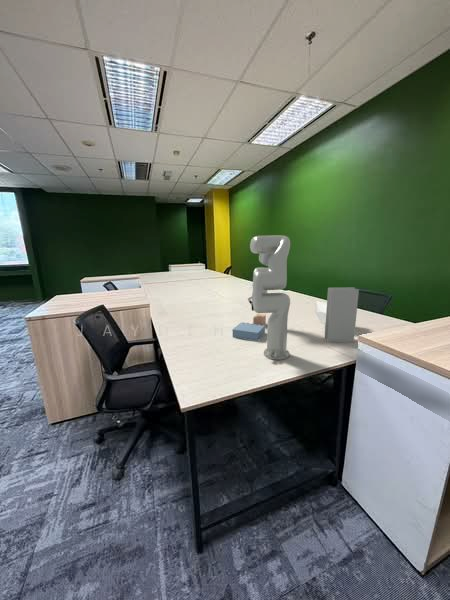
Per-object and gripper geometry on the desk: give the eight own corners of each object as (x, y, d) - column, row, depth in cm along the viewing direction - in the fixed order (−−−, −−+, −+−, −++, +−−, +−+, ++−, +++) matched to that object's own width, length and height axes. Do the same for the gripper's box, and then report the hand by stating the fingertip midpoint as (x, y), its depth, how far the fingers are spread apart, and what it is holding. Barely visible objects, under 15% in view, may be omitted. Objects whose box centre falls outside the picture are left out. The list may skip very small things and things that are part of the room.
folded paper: (341, 306, 144) (356, 304, 154) (308, 299, 164) (323, 298, 173) (337, 333, 147) (353, 330, 157) (305, 323, 167) (321, 321, 176)
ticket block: (257, 341, 139) (258, 332, 138) (232, 337, 146) (232, 328, 145) (265, 332, 152) (265, 324, 151) (241, 329, 159) (241, 321, 158)
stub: (261, 327, 162) (261, 318, 160) (253, 325, 164) (253, 317, 163) (265, 323, 170) (265, 314, 168) (257, 322, 172) (257, 313, 171)
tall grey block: (349, 338, 140) (354, 287, 133) (353, 342, 134) (359, 289, 128) (324, 338, 141) (328, 287, 135) (327, 341, 136) (331, 289, 129)
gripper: (246, 286, 162) (246, 311, 165) (271, 287, 154) (271, 313, 157) (249, 285, 168) (249, 308, 172) (274, 285, 161) (273, 310, 164)
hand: (260, 311), depth 165 cm, fingers open, 9 cm apart
